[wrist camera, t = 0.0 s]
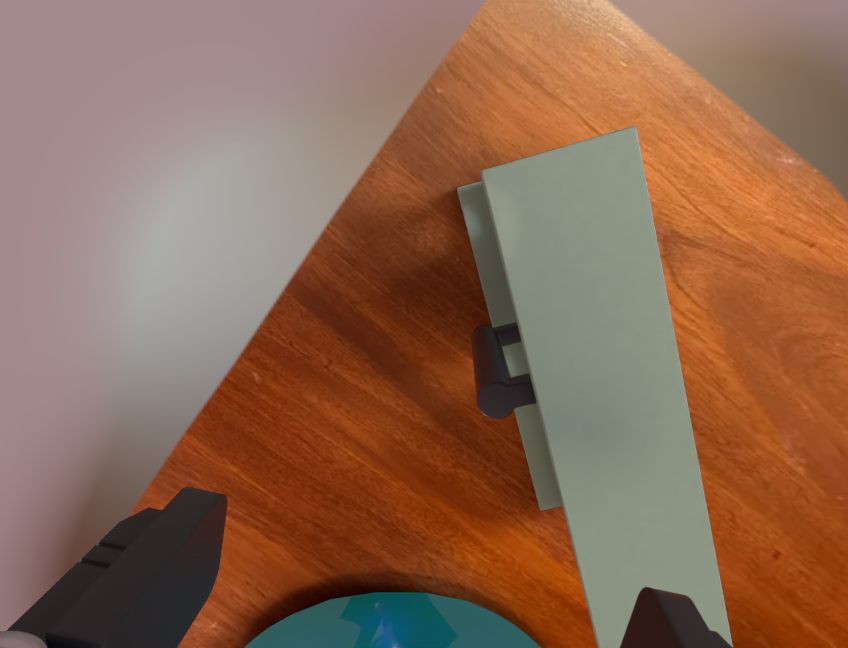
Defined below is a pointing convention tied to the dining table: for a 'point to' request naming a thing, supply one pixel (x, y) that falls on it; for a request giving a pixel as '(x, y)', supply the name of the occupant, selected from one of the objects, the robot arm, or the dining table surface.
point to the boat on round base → (394, 624)
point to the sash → (498, 372)
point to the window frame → (598, 371)
